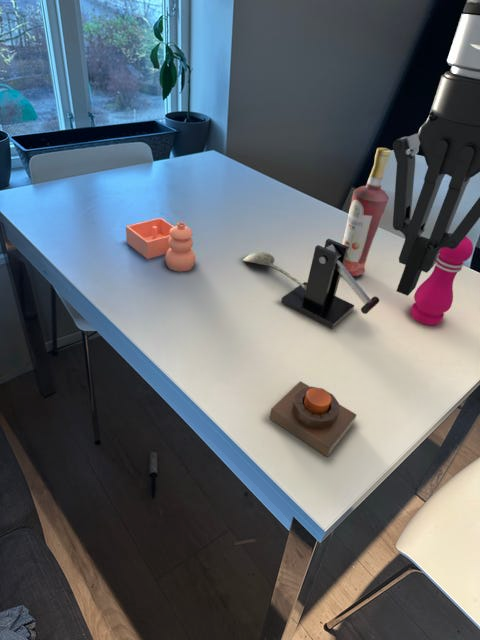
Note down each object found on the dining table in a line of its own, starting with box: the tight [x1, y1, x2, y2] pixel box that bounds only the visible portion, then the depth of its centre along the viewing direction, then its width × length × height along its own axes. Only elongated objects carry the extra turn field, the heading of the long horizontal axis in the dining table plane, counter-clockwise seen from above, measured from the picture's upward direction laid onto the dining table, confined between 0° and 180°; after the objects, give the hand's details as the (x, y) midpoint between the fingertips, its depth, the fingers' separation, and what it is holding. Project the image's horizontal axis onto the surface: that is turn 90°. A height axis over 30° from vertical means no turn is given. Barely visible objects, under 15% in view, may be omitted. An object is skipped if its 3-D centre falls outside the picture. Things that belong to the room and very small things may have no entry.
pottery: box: [125, 217, 196, 272], centre depth 99 cm, size 18×10×10 cm, turn 42°
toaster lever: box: [326, 244, 380, 315], centre depth 84 cm, size 14×5×2 cm
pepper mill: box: [409, 236, 474, 326], centre depth 87 cm, size 7×7×20 cm
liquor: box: [342, 147, 392, 278], centre depth 96 cm, size 7×7×28 cm
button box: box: [269, 381, 357, 457], centre depth 66 cm, size 10×8×4 cm
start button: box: [304, 387, 331, 414], centre depth 64 cm, size 4×4×2 cm
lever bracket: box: [280, 238, 355, 330], centre depth 87 cm, size 12×9×14 cm
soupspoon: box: [242, 251, 306, 291], centre depth 97 cm, size 22×3×7 cm
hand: (405, 289), depth 55 cm, fingers closed
